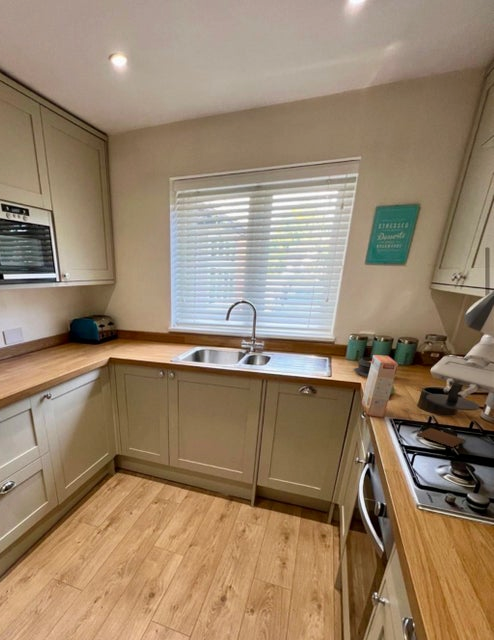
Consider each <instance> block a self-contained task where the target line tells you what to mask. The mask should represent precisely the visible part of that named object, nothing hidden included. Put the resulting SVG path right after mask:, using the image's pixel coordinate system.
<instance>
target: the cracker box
mask: <svg viewBox="0 0 494 640" xmlns="http://www.w3.org/2000/svg"><path fill="white" fill-rule="evenodd" d="M371 358H372V362H371V366H370V371H369V375H368V377H367V379H366V384H365V388H364V392H363V396H362V400H361V406H362V407H363V409H364V411H365V413H366V414H367V416H372V417H377V418H385V414H386V410H387V407H388V403H389V401H390V400H389V399H390V397H391V395H390V392H391V389H392V385H393V386H394V381H395V376H396V374H397V370H398V366H399V363H397V362H396V361H395V360H394V359H393V358H392V357H390V356H389V355H384V354H383V355H382V354H373V355H372V357H371Z"/></svg>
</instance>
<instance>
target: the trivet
mask: <svg viewBox="0 0 494 640" xmlns="http://www.w3.org/2000/svg"><path fill="white" fill-rule="evenodd" d="M416 437H418V438H420V437H425V438H427V439H430V440H433V441H436V442H438V443H441V444H445V445H447V446H450V447H454V446H456V445H457V446H459V445H461V444H462V443H464V442H466V439H465V438H462V437H460V436H456V435H454V434H450V433H447V432H444V431H441V430H438V429H435V428H432V427H429V428H427V429H425V430H423V431H421V432H419V433H417V434H416ZM457 446H456V447H457ZM454 448H455V447H454Z"/></svg>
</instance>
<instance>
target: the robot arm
mask: <svg viewBox="0 0 494 640" xmlns="http://www.w3.org/2000/svg"><path fill="white" fill-rule="evenodd" d="M464 321H465V323H466V327H467V328H469V329H472V330H473V331H477V332H480V333H482V334H483V335H482V337H481V338H480V341H479V342H478V343H476V344H475V345H474V346H473V347H472V348H471V349H470V350H469V351H468V353H466V355H465V356H458V355H455V354H450V355H444V356H443V357H442V358H441V359H440V360H438V362H437V363H435V364H434V365H432V367H431V369H430V374H431V377H432V378H433V379H437V380H440V381H444V382H446V386H445V387H444V388H443V389H444V392H445V393H448V394H449V392H450V389H451V386H452V383H458V384H462V385H463V386H464V387H467V388H466V389H462V390H460V392H458V397H461V398H464V399H466V397H467V396H468V395H471V394H473V393H476V391H477V390H478V391H482V392H486V393H490V394H493V395H494V290H492V291H491V292H490V293H487V295H485V296H483V297H482V298H480V299H478V300H477V301H476V302H474V303H473V304H472V305H471V306H470V307H469V308H468V309H467V311H466V313H465V314H464Z"/></svg>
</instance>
